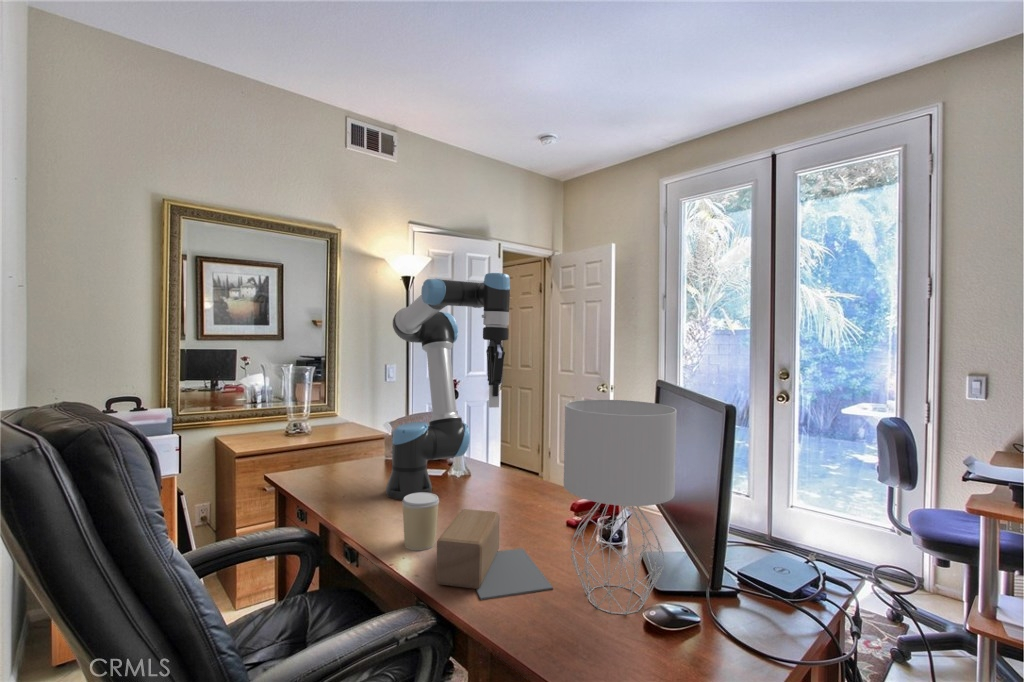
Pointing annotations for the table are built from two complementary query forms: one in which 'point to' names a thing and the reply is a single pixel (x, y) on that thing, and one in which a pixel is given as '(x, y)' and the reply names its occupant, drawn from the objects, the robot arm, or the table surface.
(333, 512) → the table surface
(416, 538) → the coffee cup
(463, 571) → the block
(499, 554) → the mat
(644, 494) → the table lamp
